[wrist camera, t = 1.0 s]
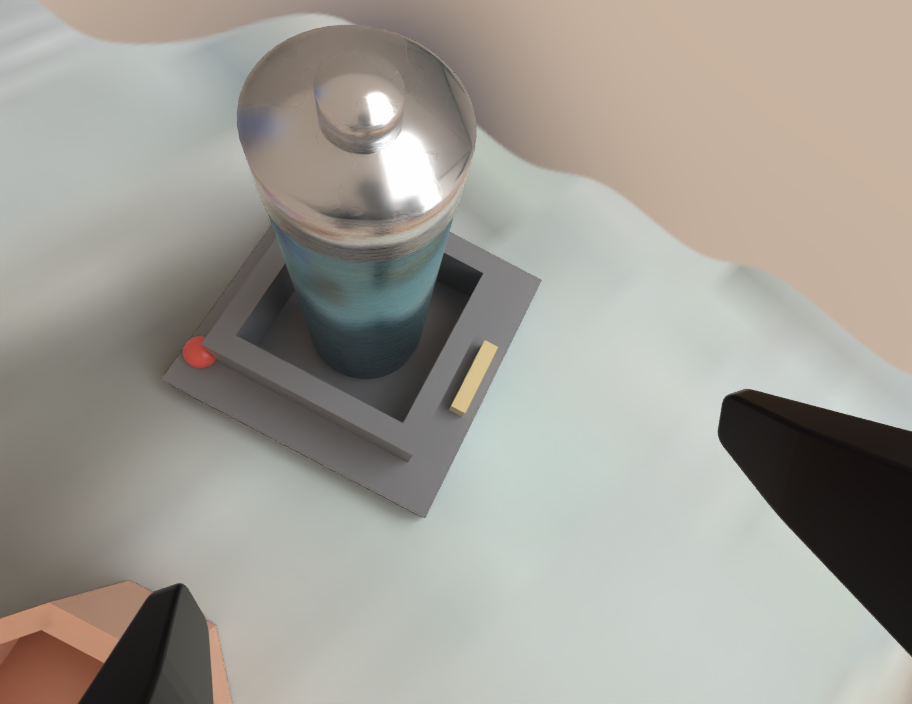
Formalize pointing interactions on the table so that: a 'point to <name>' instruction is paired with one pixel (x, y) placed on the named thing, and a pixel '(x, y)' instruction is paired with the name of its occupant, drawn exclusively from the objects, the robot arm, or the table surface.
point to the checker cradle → (352, 399)
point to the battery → (359, 182)
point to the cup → (76, 646)
